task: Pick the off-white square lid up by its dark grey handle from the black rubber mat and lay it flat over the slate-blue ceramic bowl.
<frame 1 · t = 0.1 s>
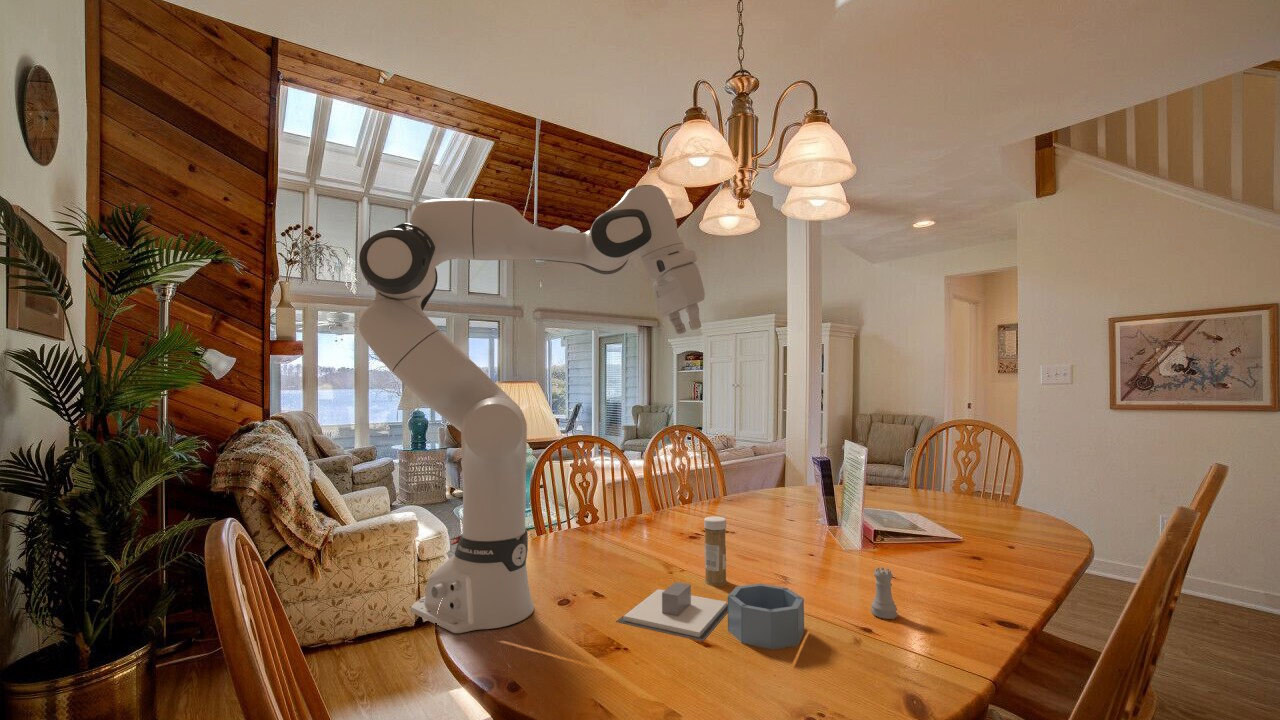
hand: (688, 331, 110), 52 cm above the table, tool tilted 20°, fingers open, 8 cm apart
lid: (676, 613, 98), resting on mat
sprinkles bottle: (715, 584, 113), on the table
rook chess piece: (884, 616, 98), on the table
mat: (676, 615, 98), on the table
bowl: (765, 633, 91), on the table
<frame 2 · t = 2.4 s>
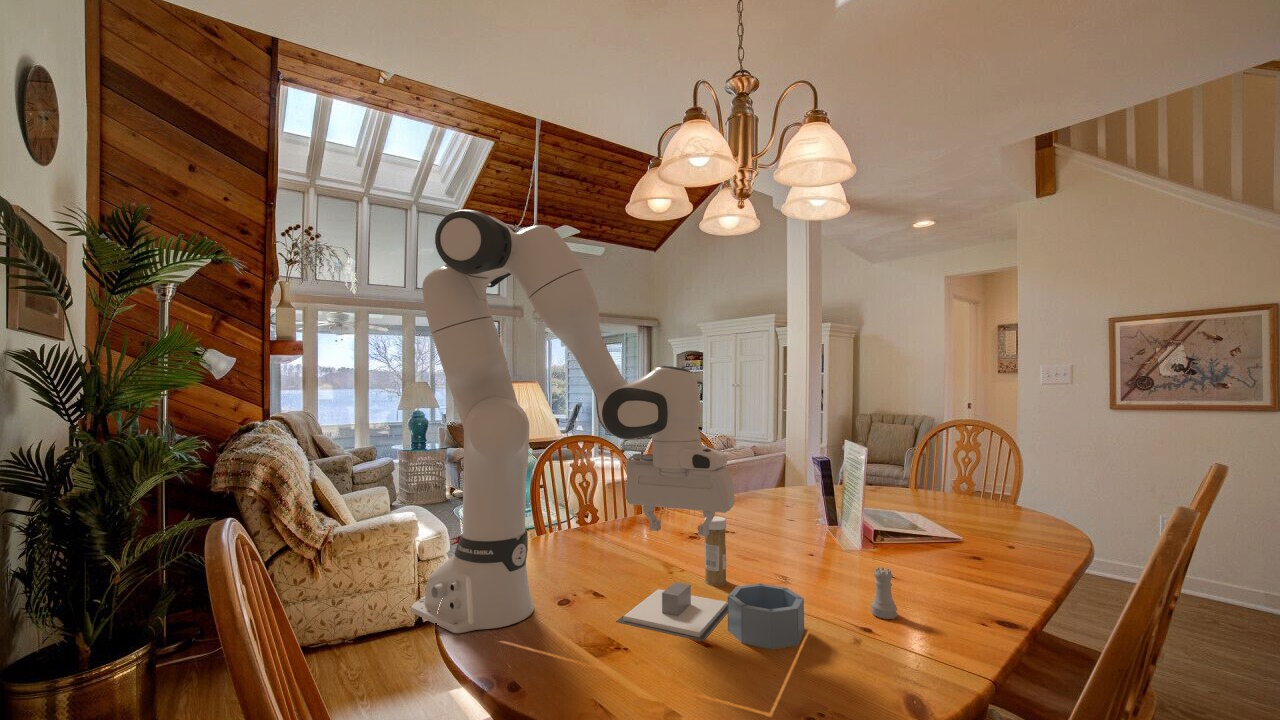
hand: (678, 532, 99), 15 cm above the table, tool pointing down, fingers open, 8 cm apart
nothing on the table moved.
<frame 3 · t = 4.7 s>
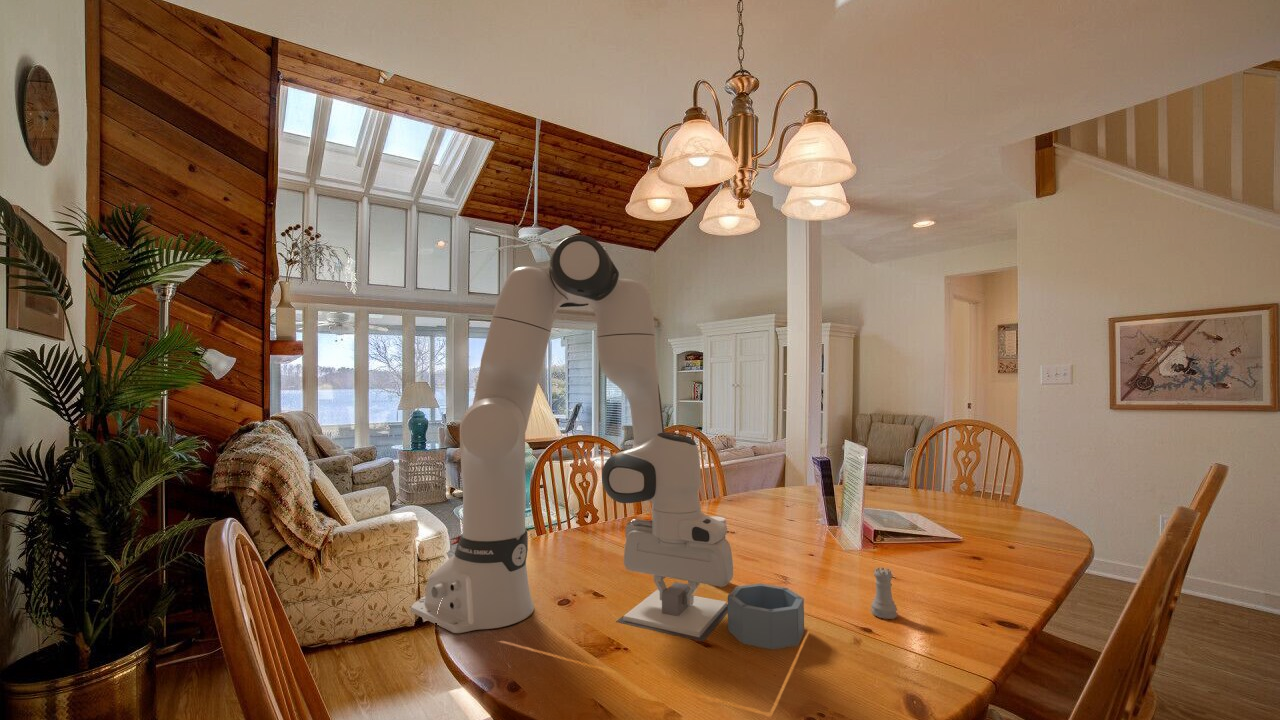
hand: (676, 602, 98), 2 cm above the table, tool pointing down, fingers closed on lid, 3 cm apart
lid: (676, 613, 98), resting on mat, touching gripper
everything else where it was.
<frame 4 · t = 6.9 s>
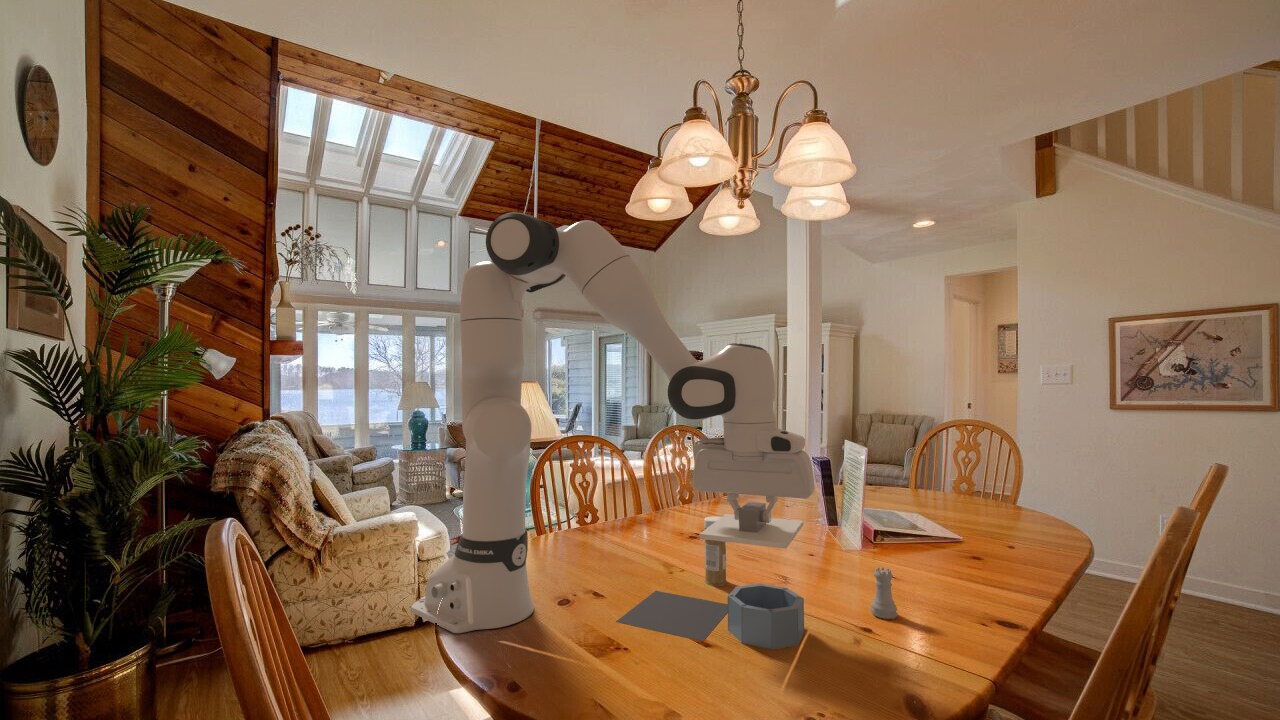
hand: (752, 520, 93), 18 cm above the table, tool pointing down, fingers closed on lid, 3 cm apart
lid: (753, 531, 93), point 16 cm above the table, touching gripper
everything else where it was.
when the fingers open (9 cm above the table, at t = 9.2 s): lid drops 1 cm, resting on bowl.
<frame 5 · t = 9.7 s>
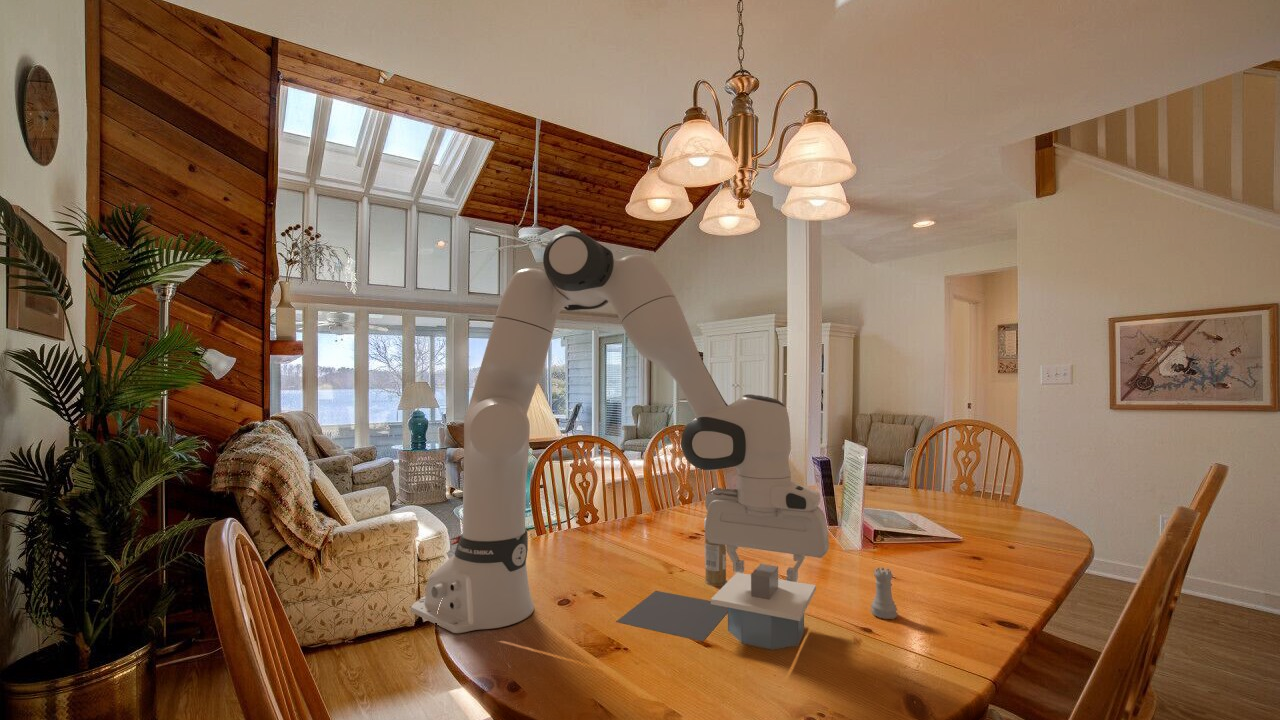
hand: (764, 576, 91), 9 cm above the table, tool pointing down, fingers open, 8 cm apart
lid: (765, 596, 91), point 6 cm above the table, touching bowl
everything else where it was.
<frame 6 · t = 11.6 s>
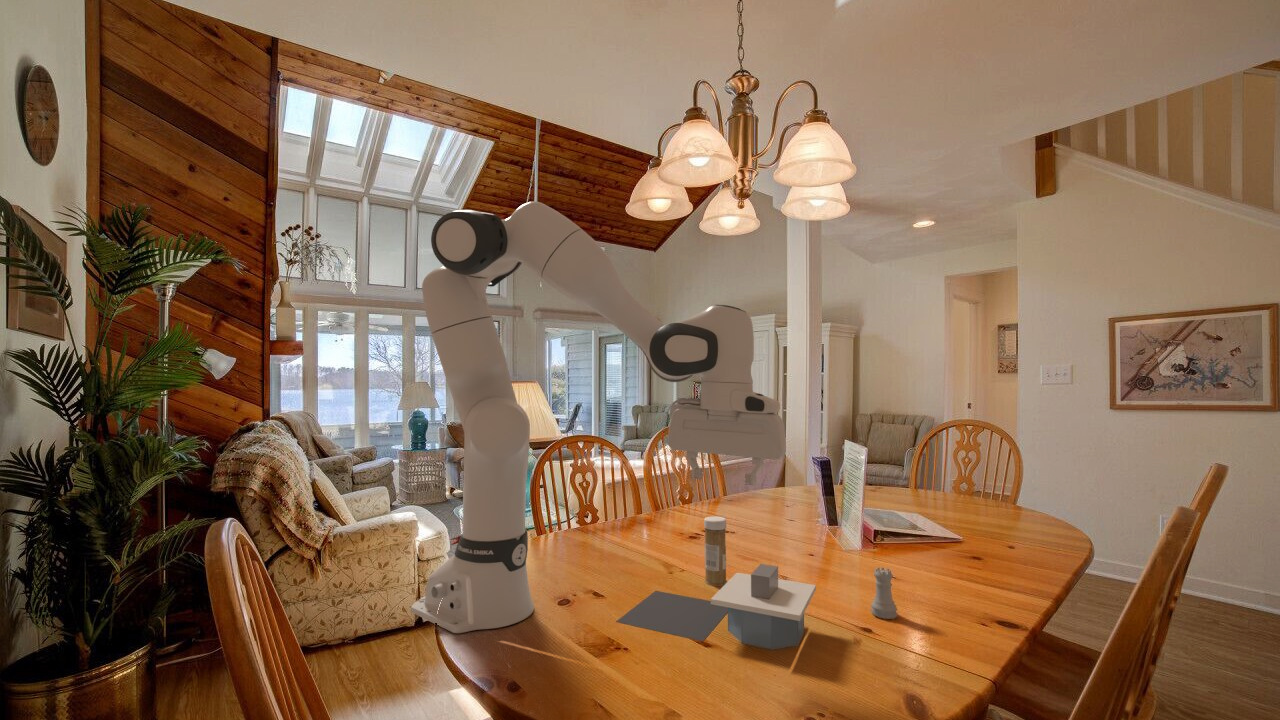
hand: (723, 481, 93), 25 cm above the table, tool pointing down, fingers open, 8 cm apart
nothing on the table moved.
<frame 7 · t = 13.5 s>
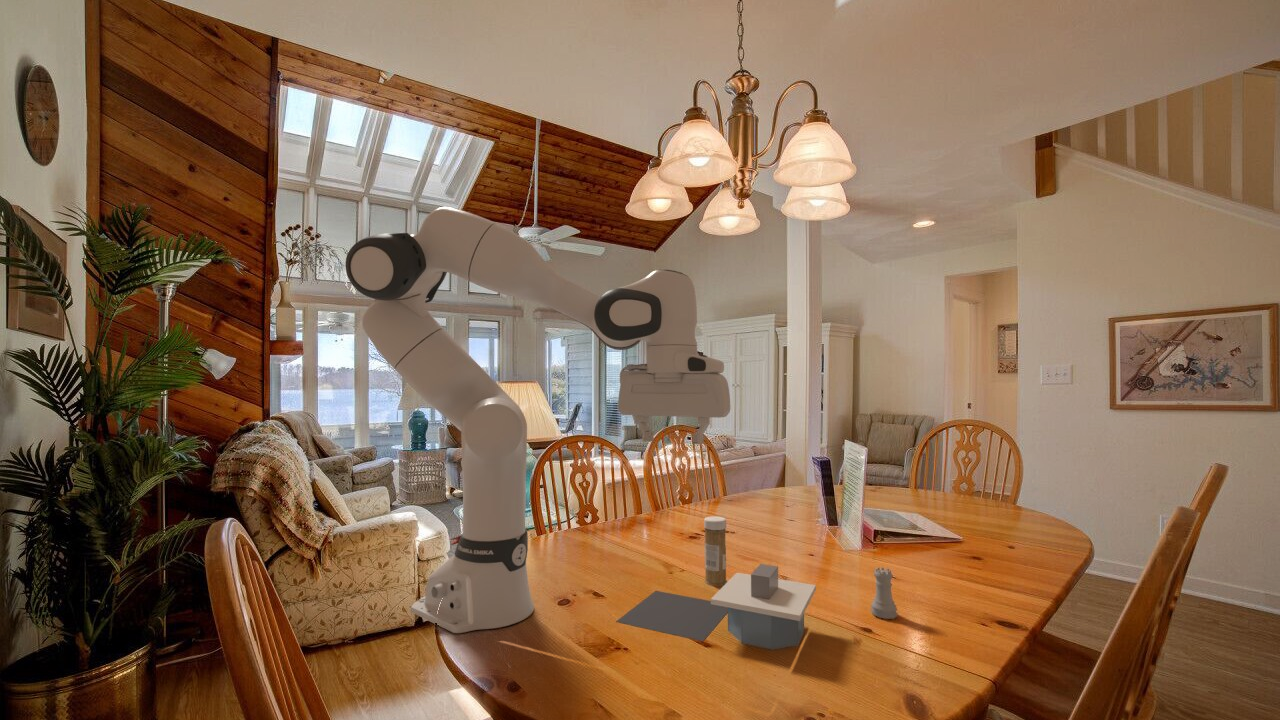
hand: (672, 442, 95), 31 cm above the table, tool pointing down, fingers open, 8 cm apart
nothing on the table moved.
at the end: lid 0.1 cm off-centre on the bowl, point 6.0 cm above the bowl's base; lid tilted 0°; the gripper is holding nothing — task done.
